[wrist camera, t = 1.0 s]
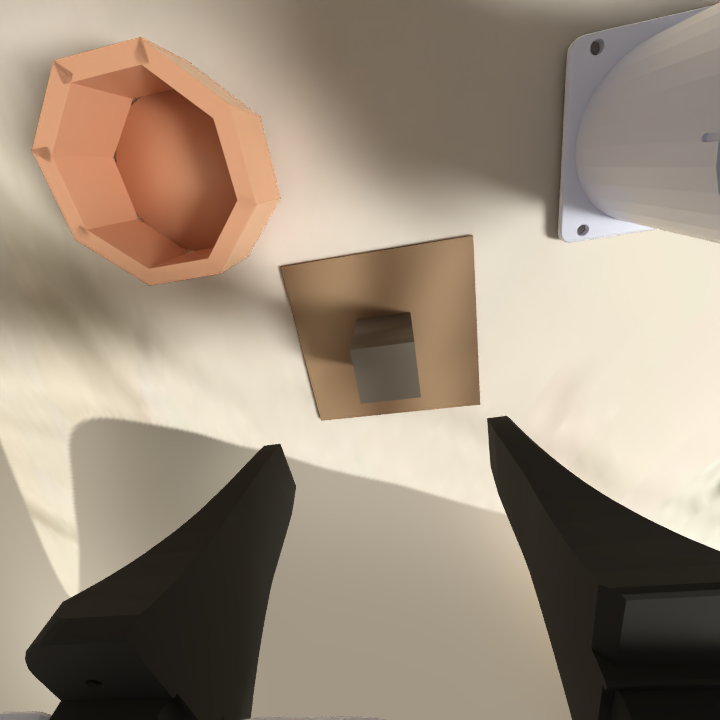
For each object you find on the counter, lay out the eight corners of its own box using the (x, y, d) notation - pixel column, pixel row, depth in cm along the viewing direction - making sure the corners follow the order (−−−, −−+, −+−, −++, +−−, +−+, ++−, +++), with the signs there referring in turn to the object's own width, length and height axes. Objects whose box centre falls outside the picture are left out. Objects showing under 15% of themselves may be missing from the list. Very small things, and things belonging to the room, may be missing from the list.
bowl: (250, 54, 16) (205, 18, 12) (296, 245, 20) (273, 265, 16) (84, 96, 18) (-6, 75, 14) (155, 269, 21) (101, 294, 17)
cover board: (470, 233, 20) (492, 252, 15) (477, 397, 24) (496, 447, 20) (284, 263, 21) (257, 288, 17) (322, 413, 25) (309, 463, 21)
